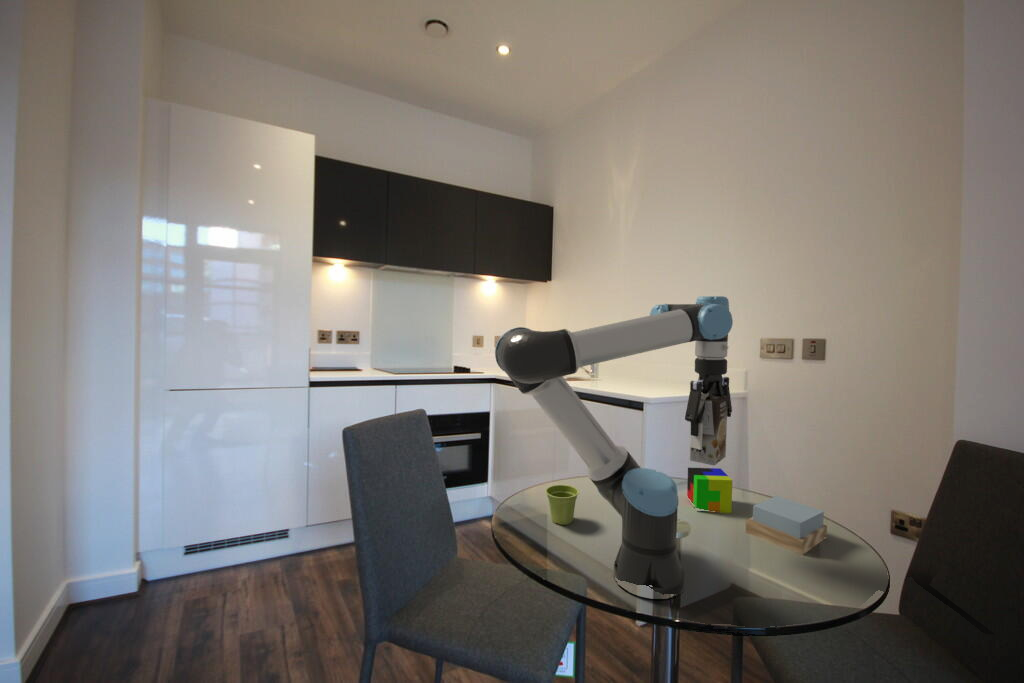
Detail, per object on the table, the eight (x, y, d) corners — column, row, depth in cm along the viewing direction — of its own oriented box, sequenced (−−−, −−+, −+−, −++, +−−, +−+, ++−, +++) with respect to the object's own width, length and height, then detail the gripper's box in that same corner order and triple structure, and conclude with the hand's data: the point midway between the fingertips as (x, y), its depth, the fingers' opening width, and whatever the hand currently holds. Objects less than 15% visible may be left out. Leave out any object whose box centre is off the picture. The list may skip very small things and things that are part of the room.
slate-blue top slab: (799, 538, 115) (800, 523, 115) (752, 520, 125) (753, 505, 125) (823, 526, 122) (823, 511, 121) (776, 509, 132) (776, 495, 132)
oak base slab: (801, 557, 114) (802, 541, 114) (745, 534, 126) (746, 520, 125) (826, 540, 122) (827, 525, 122) (771, 520, 134) (771, 507, 133)
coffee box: (715, 466, 114) (717, 401, 113) (689, 460, 118) (690, 398, 117) (726, 457, 121) (728, 395, 120) (700, 452, 125) (702, 392, 124)
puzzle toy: (719, 499, 147) (720, 468, 147) (731, 513, 137) (732, 480, 137) (687, 498, 148) (687, 467, 148) (696, 512, 138) (697, 479, 138)
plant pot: (552, 530, 127) (552, 499, 127) (541, 515, 136) (541, 486, 136) (583, 525, 130) (584, 495, 129) (570, 511, 139) (571, 483, 138)
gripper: (698, 362, 108) (696, 456, 109) (748, 356, 121) (745, 440, 123) (670, 359, 114) (668, 448, 115) (721, 353, 127) (718, 434, 129)
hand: (708, 444), depth 119 cm, fingers closed on coffee box, 10 cm apart
